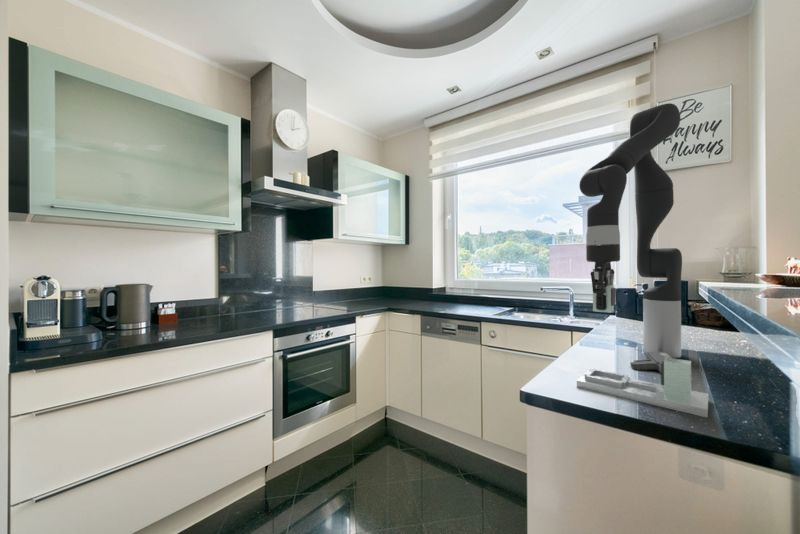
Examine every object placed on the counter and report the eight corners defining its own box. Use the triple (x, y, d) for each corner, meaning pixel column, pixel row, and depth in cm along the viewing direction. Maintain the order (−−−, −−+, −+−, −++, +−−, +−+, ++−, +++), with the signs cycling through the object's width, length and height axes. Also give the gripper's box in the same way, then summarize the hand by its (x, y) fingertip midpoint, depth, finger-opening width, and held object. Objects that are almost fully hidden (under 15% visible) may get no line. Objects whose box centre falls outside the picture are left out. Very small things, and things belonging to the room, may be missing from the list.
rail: (588, 375, 82) (588, 342, 82) (708, 401, 66) (708, 360, 66) (576, 386, 75) (576, 350, 75) (707, 417, 59) (707, 371, 59)
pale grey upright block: (596, 309, 87) (596, 284, 87) (616, 311, 84) (615, 284, 84) (593, 311, 85) (592, 284, 85) (613, 312, 82) (612, 285, 82)
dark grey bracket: (634, 366, 83) (684, 365, 78) (624, 351, 97) (665, 350, 93) (637, 380, 82) (687, 380, 78) (626, 363, 97) (667, 362, 92)
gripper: (593, 245, 92) (594, 304, 92) (578, 243, 82) (579, 310, 82) (625, 243, 87) (625, 307, 87) (613, 242, 77) (613, 313, 77)
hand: (603, 308), depth 85 cm, fingers closed on pale grey upright block, 3 cm apart
